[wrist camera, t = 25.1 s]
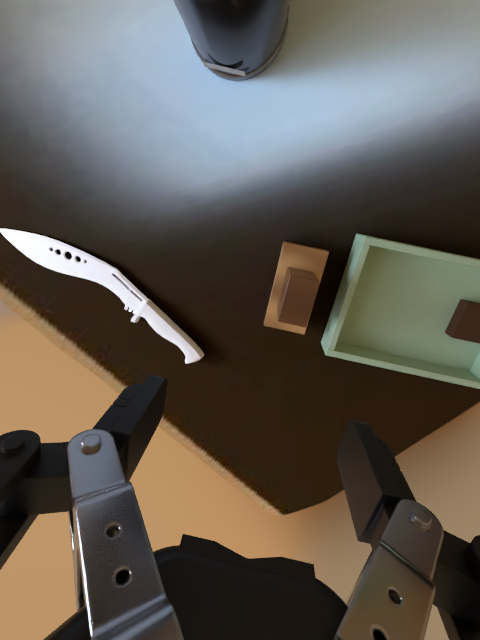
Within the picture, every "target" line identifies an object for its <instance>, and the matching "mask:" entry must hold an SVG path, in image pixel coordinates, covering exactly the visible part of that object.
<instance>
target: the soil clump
mask: <svg viewBox="0 0 480 640" xmlns="http://www.w3.org/2000/svg"><path fill="white" fill-rule="evenodd" d="M445 333H446V334H447V335H449V336H450V337H451V338H455V339H460V340H465V341H470V342H474V343H479V344H480V303H478V302H473V301H468V300H463V299H460V301H459V303H458V305H457V307H456V309H455V312H454V314H453V316H452V318H451V320H450V322H449V324H448V326H447V328H446V330H445Z"/></svg>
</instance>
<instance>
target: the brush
mask: <svg viewBox="0 0 480 640" xmlns="http://www.w3.org/2000/svg"><path fill="white" fill-rule="evenodd" d="M328 255H329V251H327V250H325V249H320V248H316V247H311V246H306V245H302V244H297V243H292V242H288V241H283V245H282V249H281V254H280V258H279V262H278V266H277V270H276V274H275V278H274V282H273V286H272V291H271V295H270V299H269V303H268V307H267V311H266V315H265V319H264V326H268V327H273V328H277V329H282V330H286V331H291V332H295V333H300V334H305V331H306V328H307V324H308V321H309V318H310V314H311V311H312V308H313V304H314V301H315V298H316V294H317V291H318V288H319V285H320V281H321V278H322V275H323V271H324V268H325V265H326V261H327V258H328Z"/></svg>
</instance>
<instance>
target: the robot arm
mask: <svg viewBox="0 0 480 640" xmlns="http://www.w3.org/2000/svg"><path fill="white" fill-rule="evenodd" d="M174 2H175V4H176V6H177V9H178V11H179V13H180V15H181V17H182V19H183V21H184V24H185V26H186V28H187V30H188V32H189V35H190V37H191V40H192V43H193V46H194V48H195V50H196V52H197V54H198V56H199V57H200V59H201V61H202V62H203V63H204V66H205V67H207V68H208V69H209V70H211V71H212V72H213V73H214V74H216V75H218V76H220V77H222V78H224V79H228V80H237V81H238V80H245V79H249V78H252V77H254V76H256V75H258V74H259V73H261V72H262V71H263V70H265V69H266V68H267V67H268V66H269V65H270V64H271V63H272V61H273V60H274V59H275V57H276V56H277V54H278V52H279V50H280V48H281V46H282V44H283V41H284V38H285V34H286V30H287V23H288V0H174ZM166 388H167V378H163V377H159V376H154V375H149V376H148V377H147V379H146V380H145V382H144V383H143V384H142V385H140V384H136V383H134V384H133V385H131V386H129V387H127V388H125V389H124V390H123V391H122V393H121V394H120V395H119V396H118V399H116V400H115V401H114V403H113V405H111V406H110V408H109V409H108V410H107V411H106V412H105V414H104V415H103V416H102V418H101V419H100V420H99V421H98V422H97V424H96V425H95V426H94V427H93V429H91V430H86V431H83V432H81V433H79V434H77V435H75V436H74V437H73V438H72V439H71V440H70V441H69V442H62V443H40V437H39V435H38V434H36V433H35V432H33V431H28V430H17V431H12V432H9V433H6V434H3V435H1V436H0V570H1V568H2V567H3V565H4V564H5V562H6V561H7V559H8V558H9V556H10V555H11V554H12V552H13V551H14V549H15V548H16V546H17V545H18V543H19V542H20V540H21V539H22V538H23V536H24V535H25V533H26V531H27V530H28V529H29V527H30V526H31V524H32V523H33V521H34V520H35V519H36V517H37V516H38V514H46V513H55V512H67V511H68V514H69V524H70V534H71V545H72V555H73V566H74V582H75V595H76V607H77V612H76V613H75V614H74V615H73V616H71V617H70V618H69V619H68V620H67V621H65V622H64V623H63V624H62V625H61V626H59V627H58V628H57V629H56V630H54V631H53V632H52V633H51V634H50V635H48V636H47V637H46V638H45V639H44V640H424V637H425V633H426V628H427V624H428V620H429V616H430V612H431V608H432V604H433V605H435V606H437V608H438V610H439V613H440V616H441V619H442V621H443V624H444V627H445V629H446V632H447V634H448V638H449V640H480V535H479V536H476V537H474V539H473V540H472V542H471V543H468V542H466V541H464V540H462V539H460V538H458V537H456V536H454V535H452V534H450V533H448V532H446V531H444V530H443V527H442V525H441V523H440V522H439V520H438V519H437V518H436V516H435V515H434V514H433V513H432V512H431V511H430V510H428V509H427V508H426V507H425V506H423V505H421V504H420V503H418V502H416V500H415V498H414V496H413V494H412V492H411V490H410V488H409V486H408V484H407V482H406V480H405V478H404V476H403V474H402V472H401V471H400V468H399V466H398V464H397V462H396V459H395V457H394V455H393V453H392V451H391V449H390V448H389V447H388V446H387V445H386V444H385V443H384V442H383V441H382V440H381V439H379V438H376V436H375V434H374V431H373V429H372V427H371V425H370V424H367V423H363V422H358V421H354V420H351V421H349V423H348V425H347V428H346V430H345V432H344V435H343V437H342V440H341V442H340V445H339V447H338V452H337V463H338V467H339V471H340V474H341V478H342V482H343V486H344V490H345V493H346V497H347V501H348V504H349V509H350V512H351V516H352V520H353V524H354V528H355V532H356V535H357V539H358V541H360V542H365V543H369V544H371V547H372V552H371V553H370V555H369V557H368V559H367V561H366V563H365V565H364V567H363V569H362V571H361V574H360V575H359V577H358V580H357V582H356V584H355V586H354V588H353V590H352V592H351V594H350V596H349V598H348V600H347V602H346V603H344V602H343V600H342V599H341V598H340V597H339V596H338V595H337V594H336V593H335V592H334V591H333V590H332V589H330V588H329V587H328V586H326V585H325V584H324V583H323V582H321V581H320V580H318V579H316V578H315V572H314V565H313V564H310V563H305V562H301V561H297V560H292V559H288V558H284V557H271V558H256V559H248V558H245V557H243V556H241V555H239V554H237V553H235V552H233V551H232V550H230V549H228V548H226V547H224V546H222V545H220V544H219V543H217V542H215V541H211V540H207V539H203V538H198V537H194V536H190V535H185V534H183V536H182V539H181V544H180V545H179V546H171V547H166V548H163V549H160V550H157V551H154V552H153V551H152V548H151V544H150V541H149V538H148V535H147V531H146V528H145V525H144V521H143V518H142V515H141V511H140V508H139V505H138V502H137V498H136V495H135V492H134V488H133V486H132V484H131V482H129V480H130V478H131V476H132V474H133V472H134V470H135V469H136V467H137V465H138V463H139V461H140V459H141V457H142V455H143V453H144V451H145V449H146V447H147V446H148V444H149V442H150V440H151V437H152V435H153V434H154V432H155V430H156V428H157V426H158V424H159V422H160V420H161V417H162V414H163V410H164V404H165V396H166Z"/></svg>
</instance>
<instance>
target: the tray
mask: <svg viewBox="0 0 480 640" xmlns="http://www.w3.org/2000/svg"><path fill="white" fill-rule="evenodd" d="M460 299H463V300H468V301H473V302H478V303H480V259H476V258H471V257H467V256H462V255H457V254H452V253H448V252H443V251H438V250H433V249H429V248H424V247H419V246H414V245H410V244H405V243H400V242H395V241H391V240H386V239H381V238H376V237H372V236H367V235H362V234H356V236H355V240H354V243H353V246H352V249H351V252H350V255H349V258H348V261H347V264H346V267H345V270H344V273H343V277H342V280H341V283H340V286H339V289H338V292H337V295H336V298H335V301H334V304H333V307H332V310H331V314H330V317H329V320H328V323H327V326H326V329H325V332H324V335H323V338H322V341H321V344H322V347H323V349H324V352H325V355H327V356H332V357H336V358H341V359H345V360H350V361H355V362H359V363H364V364H368V365H373V366H377V367H382V368H387V369H391V370H396V371H400V372H405V373H409V374H414V375H419V376H423V377H428V378H432V379H437V380H441V381H446V382H450V383H455V384H460V385H464V386H469V387H473V388H478V389H480V344H479V343H474V342H470V341H465V340H460V339H455V338H451V337H450V336H449V335H447V334H446V333H445V330H446V328H447V326H448V324H449V322H450V320H451V318H452V316H453V314H454V312H455V309H456V307H457V305H458V303H459V301H460Z"/></svg>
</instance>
